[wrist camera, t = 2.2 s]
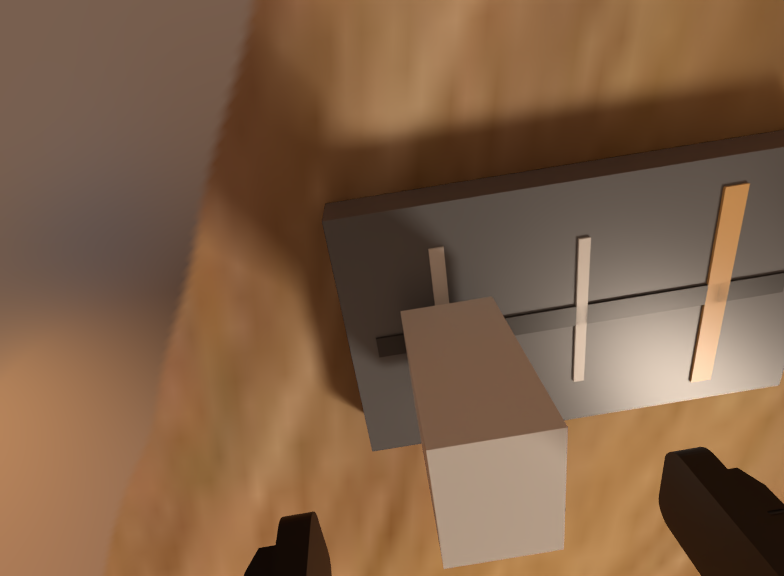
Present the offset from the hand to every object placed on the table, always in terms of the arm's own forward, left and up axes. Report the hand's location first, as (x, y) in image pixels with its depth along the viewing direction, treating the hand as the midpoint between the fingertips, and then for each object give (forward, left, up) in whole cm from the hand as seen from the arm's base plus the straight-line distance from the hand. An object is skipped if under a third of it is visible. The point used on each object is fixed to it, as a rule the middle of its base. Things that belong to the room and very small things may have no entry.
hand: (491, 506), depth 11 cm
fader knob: (0, 0, -7) cm, 7 cm away
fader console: (0, +5, -9) cm, 11 cm away
